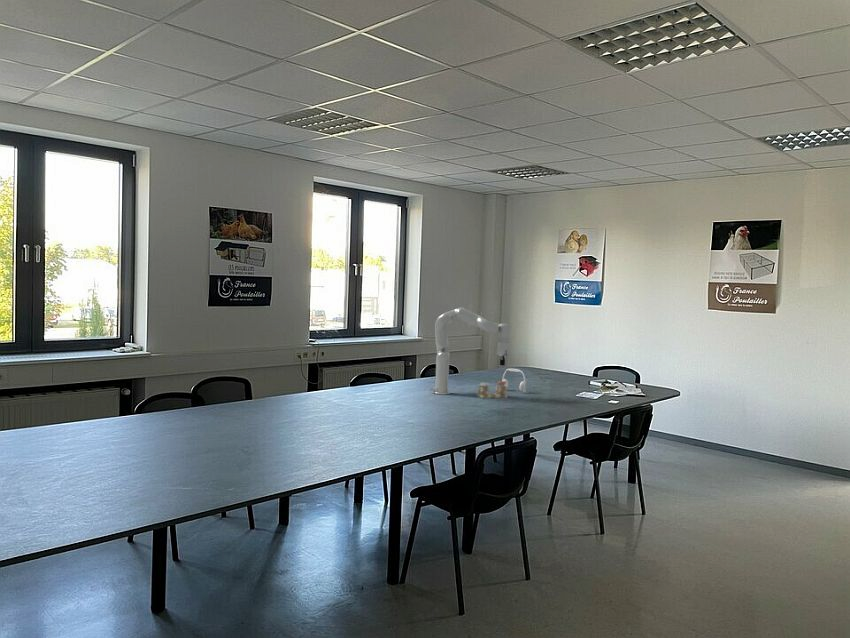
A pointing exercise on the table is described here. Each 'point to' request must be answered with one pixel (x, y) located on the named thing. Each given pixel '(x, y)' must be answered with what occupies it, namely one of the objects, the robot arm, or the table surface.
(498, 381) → the terracotta plug
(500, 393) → the block
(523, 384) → the headset
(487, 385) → the plug
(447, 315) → the robot arm
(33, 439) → the table surface
